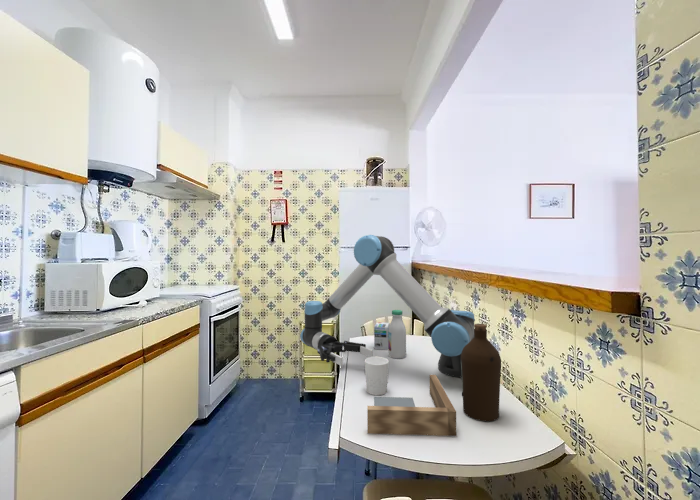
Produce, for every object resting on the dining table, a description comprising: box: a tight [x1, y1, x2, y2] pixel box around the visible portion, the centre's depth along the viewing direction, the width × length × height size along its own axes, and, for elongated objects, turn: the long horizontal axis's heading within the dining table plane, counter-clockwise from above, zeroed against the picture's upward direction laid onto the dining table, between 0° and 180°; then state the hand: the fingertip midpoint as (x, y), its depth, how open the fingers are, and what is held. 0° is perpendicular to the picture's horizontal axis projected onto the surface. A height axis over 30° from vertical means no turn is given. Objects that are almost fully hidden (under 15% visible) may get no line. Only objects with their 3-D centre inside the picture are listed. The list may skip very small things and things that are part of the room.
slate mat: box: [373, 396, 416, 407], centre depth 94 cm, size 12×12×1 cm
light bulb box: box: [373, 321, 391, 351], centre depth 155 cm, size 11×7×11 cm, turn 168°
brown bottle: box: [461, 323, 502, 422], centre depth 91 cm, size 11×11×25 cm
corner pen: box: [366, 374, 457, 437], centre depth 92 cm, size 22×24×6 cm
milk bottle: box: [387, 309, 407, 359], centre depth 141 cm, size 8×8×20 cm
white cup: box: [364, 356, 390, 396], centre depth 105 cm, size 8×8×10 cm
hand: (357, 357), depth 113 cm, fingers open, 13 cm apart
